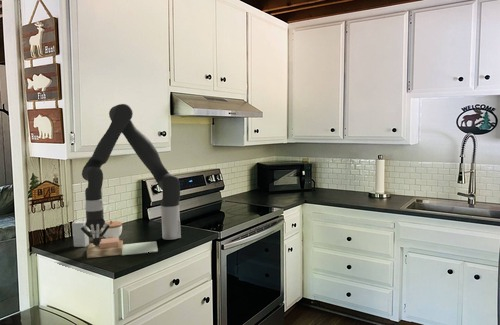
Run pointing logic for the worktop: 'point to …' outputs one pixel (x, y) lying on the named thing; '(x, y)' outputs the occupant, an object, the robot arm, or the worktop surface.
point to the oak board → (104, 250)
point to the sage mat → (139, 248)
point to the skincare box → (79, 234)
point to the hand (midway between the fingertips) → (96, 245)
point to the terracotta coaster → (109, 242)
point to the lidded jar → (113, 229)
